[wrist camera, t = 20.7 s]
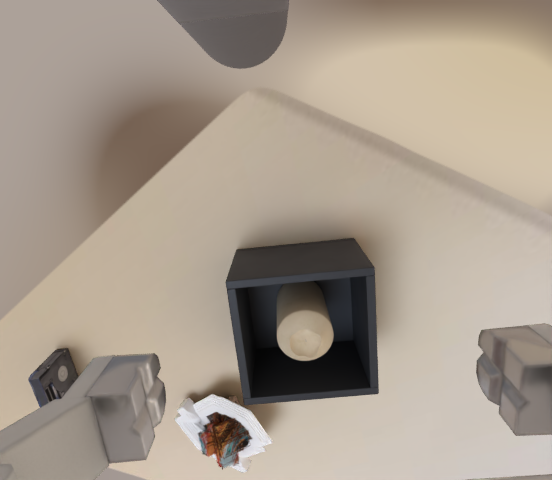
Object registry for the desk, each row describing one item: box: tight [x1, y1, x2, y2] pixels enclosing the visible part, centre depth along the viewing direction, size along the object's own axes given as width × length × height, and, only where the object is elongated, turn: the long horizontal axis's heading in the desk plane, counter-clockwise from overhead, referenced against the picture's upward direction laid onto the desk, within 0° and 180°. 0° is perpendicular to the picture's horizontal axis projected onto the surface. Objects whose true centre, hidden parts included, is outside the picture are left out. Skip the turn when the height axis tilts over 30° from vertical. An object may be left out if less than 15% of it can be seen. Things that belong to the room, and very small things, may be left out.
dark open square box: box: [226, 238, 379, 405], centre depth 41 cm, size 14×14×10 cm
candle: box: [277, 281, 334, 361], centre depth 40 cm, size 6×6×10 cm
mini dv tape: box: [28, 349, 78, 408], centre depth 46 cm, size 8×2×6 cm, turn 10°
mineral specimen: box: [174, 394, 273, 473], centre depth 48 cm, size 12×12×7 cm
